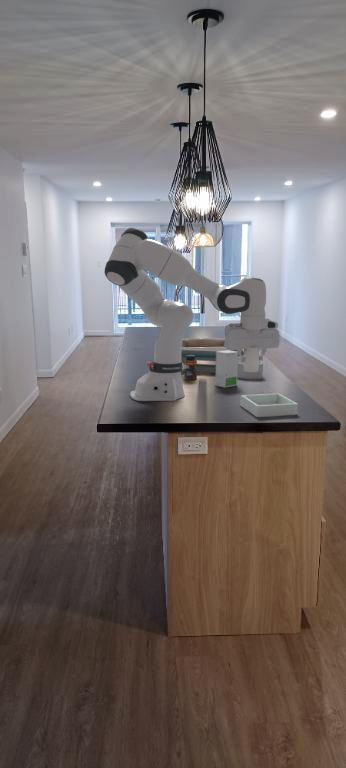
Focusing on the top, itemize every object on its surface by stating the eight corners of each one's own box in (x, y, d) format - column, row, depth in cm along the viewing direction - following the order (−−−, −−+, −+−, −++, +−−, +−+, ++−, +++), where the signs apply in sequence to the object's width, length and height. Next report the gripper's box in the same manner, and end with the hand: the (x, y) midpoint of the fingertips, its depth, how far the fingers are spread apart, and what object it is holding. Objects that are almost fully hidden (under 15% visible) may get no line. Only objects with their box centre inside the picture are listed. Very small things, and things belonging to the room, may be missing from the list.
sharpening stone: (178, 371, 268) (178, 349, 265) (180, 368, 275) (181, 347, 273) (227, 373, 264) (228, 351, 261) (229, 370, 271) (229, 349, 269)
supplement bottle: (196, 377, 254) (196, 354, 251) (197, 380, 248) (197, 356, 245) (183, 377, 253) (184, 354, 251) (184, 380, 248) (184, 356, 245)
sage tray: (256, 417, 191) (257, 406, 190) (240, 405, 206) (240, 395, 205) (297, 414, 195) (297, 403, 194) (278, 403, 210) (278, 393, 209)
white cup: (246, 372, 191) (247, 347, 189) (240, 369, 196) (241, 345, 194) (260, 371, 192) (261, 347, 190) (255, 368, 198) (256, 344, 195)
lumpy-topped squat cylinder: (263, 379, 252) (264, 361, 250) (236, 378, 252) (236, 361, 250) (259, 374, 262) (260, 357, 260) (233, 374, 262) (234, 357, 260)
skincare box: (224, 388, 233) (225, 353, 230) (214, 385, 238) (215, 351, 235) (237, 385, 239) (239, 351, 235) (227, 382, 244) (228, 349, 240)
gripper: (227, 324, 185) (226, 363, 188) (282, 323, 189) (280, 361, 193) (222, 322, 191) (221, 360, 194) (275, 321, 195) (273, 358, 199)
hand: (251, 360), depth 193 cm, fingers closed on white cup, 6 cm apart
